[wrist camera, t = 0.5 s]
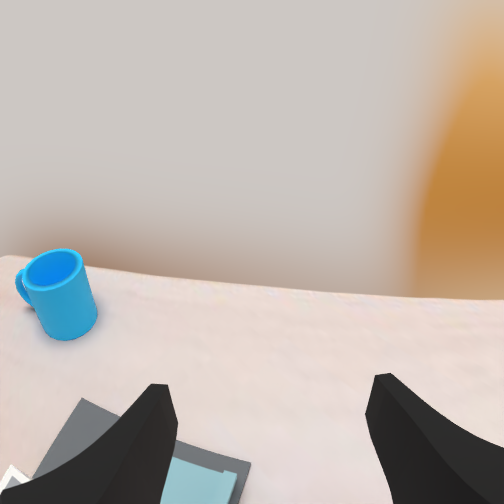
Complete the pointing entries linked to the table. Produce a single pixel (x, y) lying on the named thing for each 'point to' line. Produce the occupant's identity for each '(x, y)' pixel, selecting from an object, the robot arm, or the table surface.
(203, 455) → the desk mat
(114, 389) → the table surface
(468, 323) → the table surface
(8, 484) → the connector plug
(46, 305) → the mug
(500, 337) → the table surface
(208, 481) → the connector holder
